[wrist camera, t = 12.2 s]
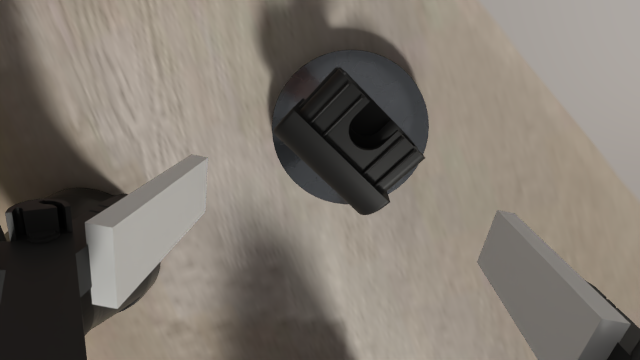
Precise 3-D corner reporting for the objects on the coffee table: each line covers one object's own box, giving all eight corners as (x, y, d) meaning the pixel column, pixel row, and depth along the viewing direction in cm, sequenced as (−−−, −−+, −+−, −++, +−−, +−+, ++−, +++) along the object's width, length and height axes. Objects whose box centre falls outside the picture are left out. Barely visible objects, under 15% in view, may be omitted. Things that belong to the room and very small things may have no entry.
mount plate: (269, 182, 35) (264, 189, 33) (286, 37, 30) (282, 36, 28) (402, 207, 35) (406, 215, 33) (442, 65, 30) (448, 65, 28)
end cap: (281, 121, 31) (263, 139, 24) (336, 62, 29) (332, 64, 22) (358, 195, 33) (360, 228, 26) (415, 144, 30) (433, 167, 24)
